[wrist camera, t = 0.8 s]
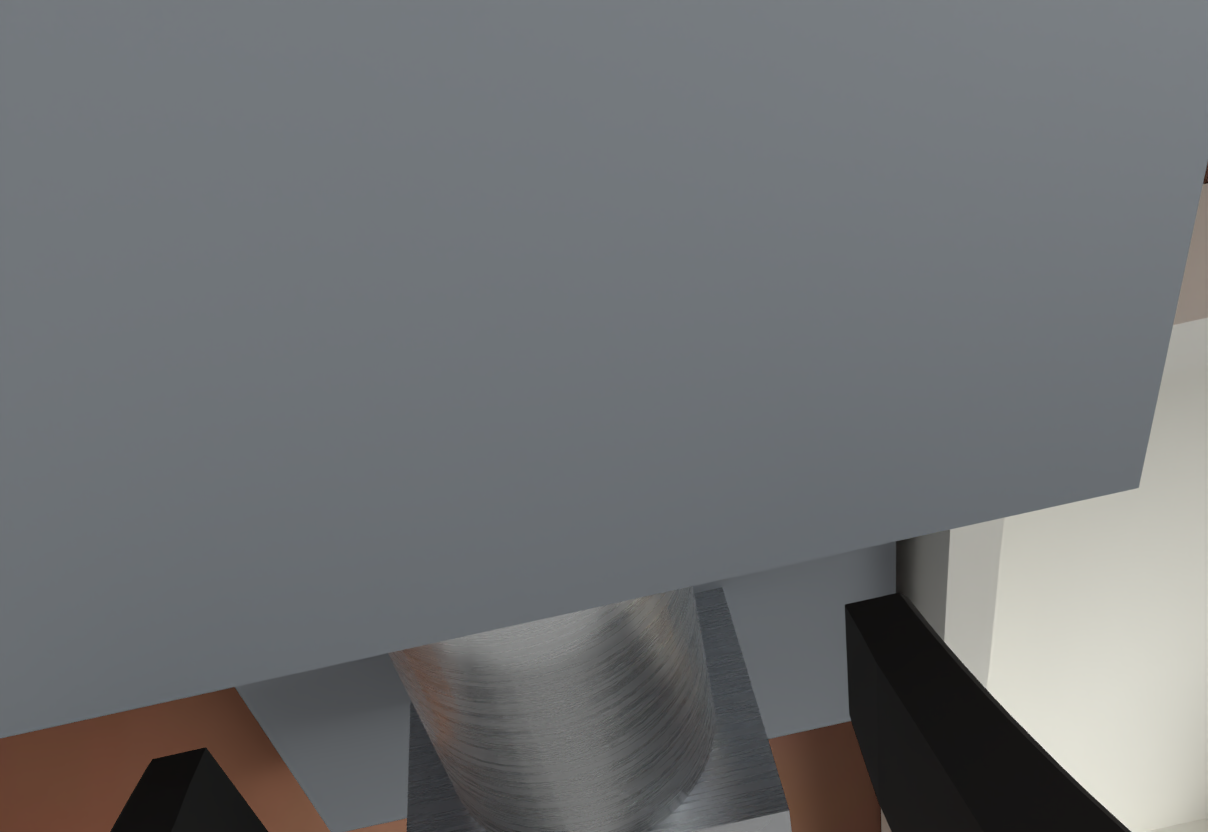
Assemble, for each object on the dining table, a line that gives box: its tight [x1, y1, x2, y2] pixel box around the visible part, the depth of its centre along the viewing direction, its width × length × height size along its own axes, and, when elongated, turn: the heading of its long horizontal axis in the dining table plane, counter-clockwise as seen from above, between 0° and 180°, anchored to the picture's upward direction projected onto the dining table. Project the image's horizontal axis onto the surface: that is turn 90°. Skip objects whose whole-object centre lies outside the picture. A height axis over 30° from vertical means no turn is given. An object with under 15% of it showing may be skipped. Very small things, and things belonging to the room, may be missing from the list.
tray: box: [881, 183, 1208, 832], centre depth 20 cm, size 11×20×3 cm, turn 10°
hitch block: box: [0, 0, 1208, 832], centre depth 12 cm, size 18×11×8 cm, turn 10°
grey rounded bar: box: [388, 586, 792, 832], centre depth 12 cm, size 13×5×4 cm, turn 10°
